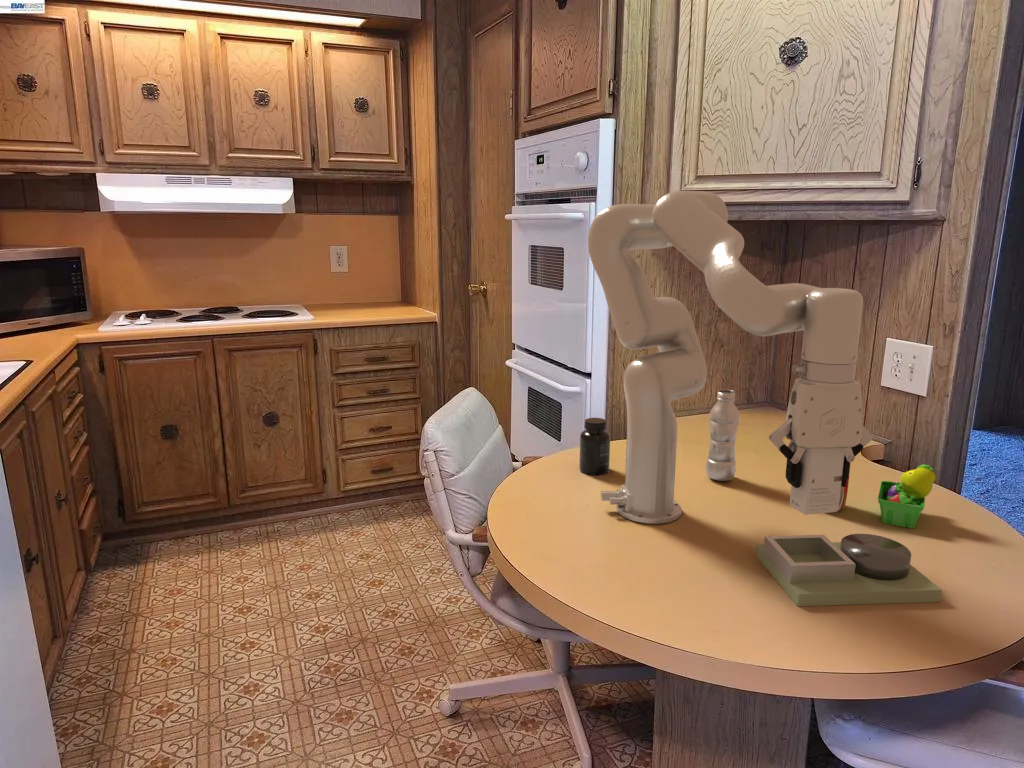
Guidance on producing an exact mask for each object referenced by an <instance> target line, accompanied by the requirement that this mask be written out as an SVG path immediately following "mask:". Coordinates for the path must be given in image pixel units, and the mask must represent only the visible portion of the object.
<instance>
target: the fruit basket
mask: <svg viewBox="0 0 1024 768" xmlns="http://www.w3.org/2000/svg"><path fill="white" fill-rule="evenodd" d="M934 471H935V469H934V468H933V467H932V466H930V465H929V464H921V465H919V466H917V468H915V469H911V470H907V471H905V472H903V473H902V474H901V475H900V477H899V479H900V480H899V481H898V482H896V481H895V482H894V481H892V480H891V481H889V480H888V481H887V480H882V481H880V485H879V490H878V491H879V492H878V496H877V501H878V504H879V508H880V517H881V522H882V523H883V524H886V525H893V526H897V527H900V528H901V527H903V528H909V529H915V527H916V526H915V525H916V524H917V522H918V519H919V517H920V515H921V513H922V512H923V511H924V509H925V506H926V505H925V504H926V500H925V498H926V497H927V496H929V494H930V493H931V492H932V490H933V489H932V488H933V485H934V482H935V480H936V474H935V472H934Z"/></svg>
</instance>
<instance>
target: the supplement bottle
mask: <svg viewBox="0 0 1024 768" xmlns="http://www.w3.org/2000/svg"><path fill="white" fill-rule="evenodd" d="M610 450H611V434H610V433H609V432H608V431H607V421H606V419H605V418H603V417H589V418H585V420H584V430H583V431H581V433H580V435H579V465H578V466H579V471H581V472H582V473H583V474H586V475H590V476H601V475H605V474H607V473H608V472H609V471H610V457H611V456H610V455H611V453H610V452H611V451H610Z"/></svg>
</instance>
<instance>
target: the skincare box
mask: <svg viewBox="0 0 1024 768" xmlns="http://www.w3.org/2000/svg"><path fill="white" fill-rule="evenodd" d="M844 452H845V451H844V448H825V449H806V450H805V451H804V453H803V455H802V457H801V458H800V460H799V462H800V463H801V464H802V475H801V485H800V487H799V488H795V487H793V486H792V485H791V484H790V485H791V486H790V497H789V498H790V499H789V505H790V507H792V508H793V509H795V510H797V511H798V512H800V513H801V514H803V515H805V516H806V515H807V516H808V515H817V514H829V513H837V512H838V511H839V510H838V509H839V500H840V491H841V482H842V472H843V463H844V454H845V453H844Z"/></svg>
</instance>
